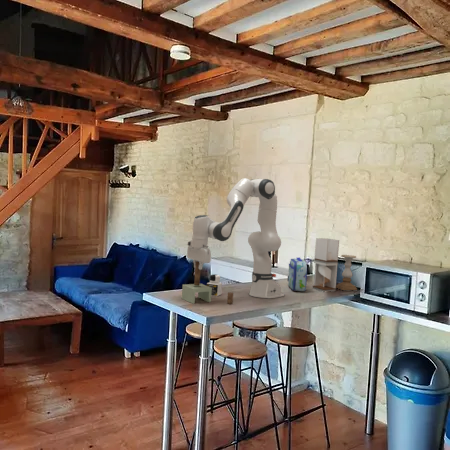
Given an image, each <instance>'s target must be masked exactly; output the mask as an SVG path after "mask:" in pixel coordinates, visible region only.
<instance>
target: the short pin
mask: <svg viewBox="0 0 450 450" xmlns="http://www.w3.org/2000/svg"><path fill="white" fill-rule="evenodd" d="M233 301H234V292H227V299H226V302H227V303H226V304H227V305H233V303H234V302H233Z"/></svg>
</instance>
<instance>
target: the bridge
mask: <svg viewBox="0 0 450 450" xmlns="http://www.w3.org/2000/svg"><path fill="white" fill-rule="evenodd" d="M181 292H182V293H181V299H182V300H183V301H186V302H188V303H190V304H193V305H194V304H195V302H196V293H197V298H198V299H200V298H201V299H200V300H203V301H204V302H207V303H211V302H212V295H211V294H212V288H211V287H209V286H207V284H206V285H205V284H203V283H200V285H194V283H189V284H182V290H181Z"/></svg>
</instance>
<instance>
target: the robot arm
mask: <svg viewBox="0 0 450 450" xmlns="http://www.w3.org/2000/svg"><path fill="white" fill-rule="evenodd" d="M249 198H258V199H259V205H258V206H259V207H258V212H257V213H258V214H257V224H258V225H259V227H260V231H253V232H251V233H250V234H249V235H248V238H247V240H248V241H247V242H248V244H249V246H250V248H251V252H252V256H253V267H252V268H253V271H252V273H251V287H250V290H249V293H248V295H249V296H251V297H255V298H261V299H274V298H275V299H276V298H281V297H285V294H284V293H282V288H281V285H280V284H278V283H277V281H276V280H274V278H276V277H277V274H276V273H272V265H273V260H272V259H271V257H270V254H269V252H276V251H278V250H279V249H280V248H281V246H282V238H280V235H279V234H278V231H277V225H276V223H277V222H276V221H277V211H278V196H277V194H276V186H275V183H274V181H273V180H271V179H268V178H257V179H249V178H247V177H243V178H241V179H240V180H239V181H237V182H236V183H235V185H234V186H233V187H232V189H231V190H230V191H229V193H228V194H227V196H226V203H227V205H228V206H229V207H230V210H229V211H228V213H227V215H226V216H225V218H224V219H223V221H220V222H219V221H216V220H214V219H212V218H210V217H209V215H207V214H201V215H196V216H195V217H194V219H193V221H192V236H191V240H189V241H187V255H186V256H187V258H188V259H191V260H193V261H192V263H193V268H194V269H195V264H196V261H199V263H200V264H199V266H198V269H200V271H201V270H203V267H204V264H210V263H211V261H212V260H211V257H212V255H211V249H210V247H209V246H208V244H209V243H208V242H209V239H213V240H218V241H220V242H226V241H227V240H229V239H230V238H231V236H232V233H233V229H234V227H235V225H236V223H237V222H238V219H239V218H240V216H241V214H242V212H243V211H244V207H245V204H246V203H247V201H248V200H249Z"/></svg>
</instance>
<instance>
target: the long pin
mask: <svg viewBox="0 0 450 450" xmlns="http://www.w3.org/2000/svg"><path fill="white" fill-rule="evenodd" d="M199 264H200V263H199V261H196V264H195V268H194V283H193V284H194V285H200V284H201V270H200V269H198V266H199Z"/></svg>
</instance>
